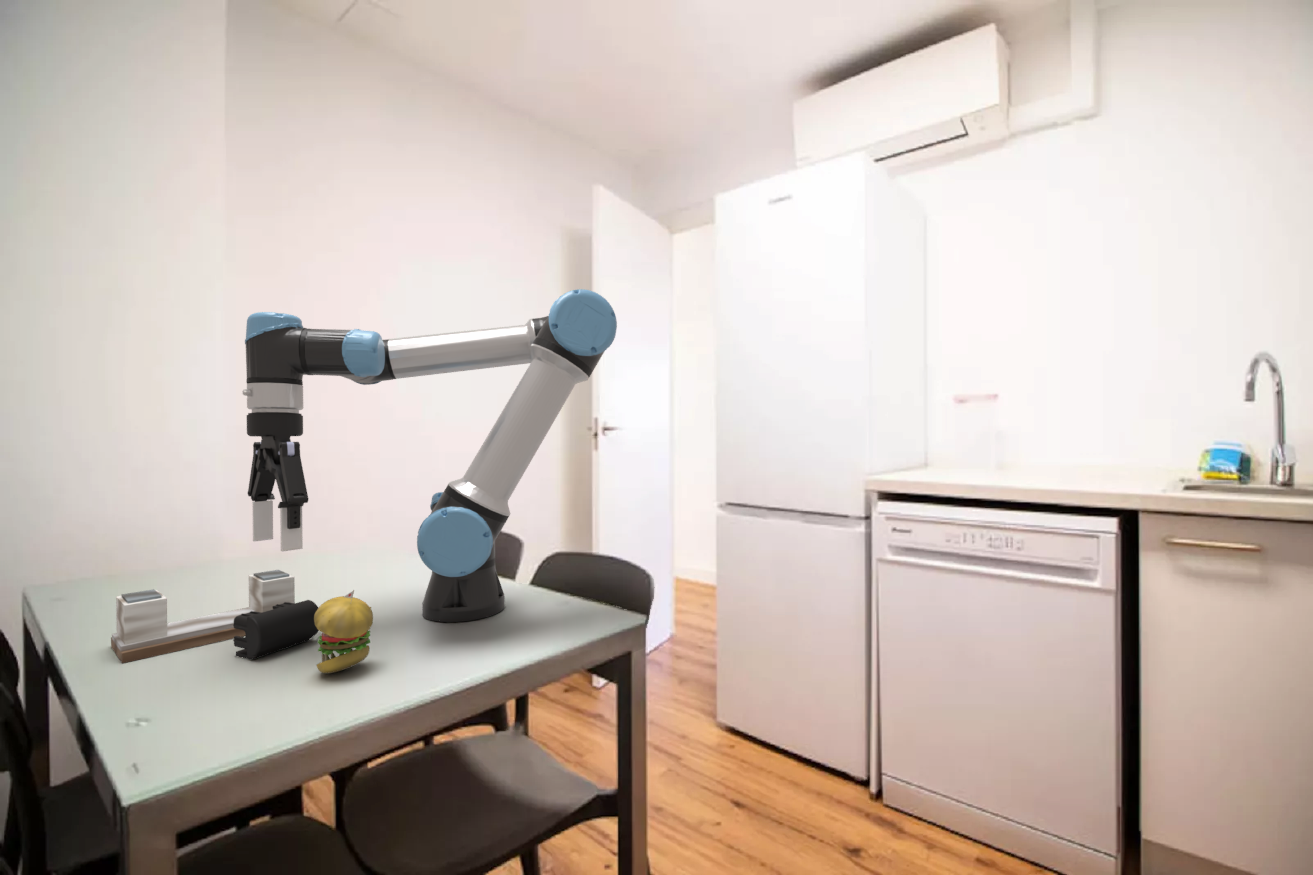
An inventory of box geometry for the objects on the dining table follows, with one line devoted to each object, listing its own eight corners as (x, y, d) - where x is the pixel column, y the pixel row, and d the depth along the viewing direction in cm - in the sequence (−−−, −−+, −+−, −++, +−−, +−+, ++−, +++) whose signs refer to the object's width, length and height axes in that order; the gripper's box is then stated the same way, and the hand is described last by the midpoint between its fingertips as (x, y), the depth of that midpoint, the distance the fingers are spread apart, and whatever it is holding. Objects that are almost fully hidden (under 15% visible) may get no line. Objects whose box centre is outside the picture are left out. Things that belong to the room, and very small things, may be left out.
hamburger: (351, 658, 88) (351, 579, 88) (385, 666, 85) (384, 584, 85) (302, 677, 81) (301, 592, 81) (336, 687, 78) (335, 598, 78)
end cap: (260, 664, 86) (259, 619, 86) (230, 657, 89) (230, 613, 89) (322, 642, 95) (322, 601, 95) (293, 636, 98) (293, 596, 98)
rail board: (300, 623, 105) (300, 575, 105) (122, 663, 86) (121, 605, 86) (280, 611, 112) (279, 566, 112) (111, 646, 94) (110, 593, 94)
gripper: (225, 413, 97) (226, 539, 97) (274, 407, 81) (275, 558, 81) (276, 414, 103) (277, 533, 103) (331, 409, 87) (333, 550, 87)
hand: (276, 545), depth 92 cm, fingers open, 13 cm apart
